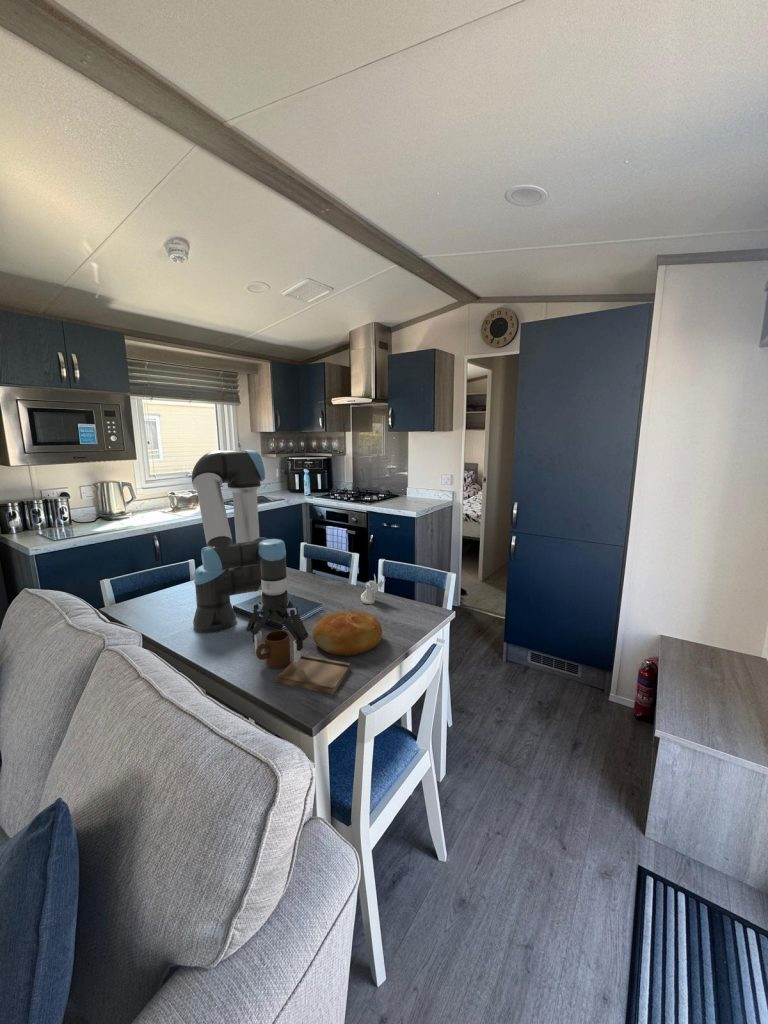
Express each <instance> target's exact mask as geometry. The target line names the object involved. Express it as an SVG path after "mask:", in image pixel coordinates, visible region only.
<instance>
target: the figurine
mask: <svg viewBox="0 0 768 1024" xmlns="http://www.w3.org/2000/svg"><path fill="white" fill-rule="evenodd" d="M373 577H374V580H369V581H366V582H365V588H366V589H365V590H364V592H362V593H361V595H360V600H361V601H362V602H363V604H365V605H373V604H374V603H376V602H375V597H376V593H377V592H379V591H378V590H379V589H381V588H382V587H383V584H385V581H386V580H384V581H383V579H381V580H380V581H379V582H378V583H377V578H376V575H375V573H374V574H373Z"/></svg>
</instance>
